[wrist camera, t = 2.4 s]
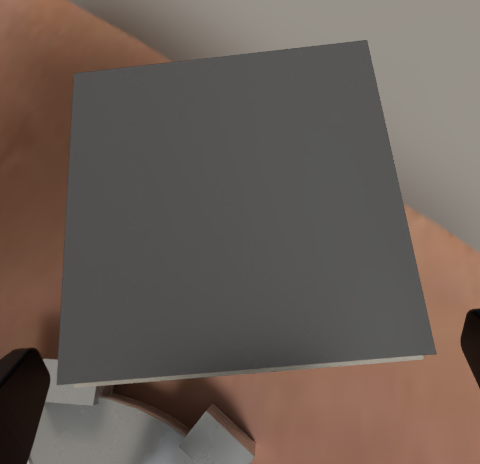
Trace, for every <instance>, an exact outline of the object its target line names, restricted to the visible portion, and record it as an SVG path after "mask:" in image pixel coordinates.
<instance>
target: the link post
mask: <svg viewBox="0 0 480 464" xmlns="http://www.w3.org/2000/svg"><path fill="white" fill-rule="evenodd" d="M431 354H436V350H435V345H434V341H433V336H432V332H431V327H430V323H429V318H428V314H427V309H426V305H425V300H424V296H423V291H422V287H421V282H420V278H419V273H418V269H417V264H416V259H415V255H414V250H413V246H412V241H411V237H410V232H409V228H408V223H407V219H406V214H405V210H404V205H403V201H402V196H401V192H400V187H399V183H398V178H397V173H396V169H395V164H394V160H393V155H392V151H391V147H390V142H389V138H388V133H387V128H386V124H385V120H384V115H383V111H382V106H381V101H380V97H379V92H378V88H377V83H376V78H375V74H374V69H373V66H372V60H371V56H370V51H369V47H368V42H367V40H363V41H355V42H346V43H337V44H328V45H320V46H311V47H302V48H293V49H284V50H276V51H267V52H258V53H249V54H240V55H232V56H224V57H214V58H205V59H196V60H188V61H179V62H170V63H161V64H152V65H144V66H135V67H126V68H117V69H108V70H100V71H91V72H82V73H74V81H73V99H72V117H71V135H70V152H69V170H68V188H67V206H66V224H65V242H64V260H63V278H62V296H61V313H60V331H59V349H58V367H57V385H66V384H74V388H80V387H92V386H104V385H116V384H129V383H141V382H153V381H165V380H178V379H190V378H202V377H214V376H226V375H239V374H251V373H263V372H275V371H288V370H300V369H312V368H324V367H336V366H349V365H361V364H373V363H385V362H397V361H410V360H422V359H424V357H423V355H431Z"/></svg>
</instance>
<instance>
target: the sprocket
mask: <svg viewBox="0 0 480 464" xmlns="http://www.w3.org/2000/svg"><path fill="white" fill-rule="evenodd" d="M43 361H44V363H45V365H46V367H47V369H48V371H49V373H50V387H49V390H48V394H47V397H46V401H45V405H44V408H43V412H42V415H41V419H40V422H39V426H38V429H37V433H36V437H35V440H34V444H33V447H32V450H31V453H30V457H29V460H28V462H27V464H249V463H250V462H251V461H252V459H253V458H254V456H255V445H256V443H255V442H254V441H253V440H252V439H251V438H250V437H249V436H248V435H247V434H246V433H245V432H243V431H242V430H241V429H240V428H239V427H238V426H237V425H236V424H235V423H234V422H233V421H232V420H231V419H230V418H228V417H227V416H226V415H225V414H224V413H223V412H222V411H221V410H220V409H219V408H218V407H217V406H216V405H215V404H213V403H212V404H211V406H210V407H209V408H208V409H207V410H206V411H205V413H204V414H203V415H202V417H201V418H200V419H199V420H198V422H197V423H196V424H195V426H194V427H193V428H192V429H190V428H188V427H187V426H186V425H184V424H183V423H181V422H180V421H179V420H177V419H176V418H174V417H172V416H171V415H169V414H167V413H165V412H163V411H161V410H159V409H157V408H155V407H153V406H151V405H149V404H147V403H144V402H141V401H138V400H135V399H132V398H129V397H126V396H123V395H120V394H114V386H115V385H104V386H92V387H80V388H74V384H66V385H57V367H58V358H47V359H43Z"/></svg>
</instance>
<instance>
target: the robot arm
mask: <svg viewBox="0 0 480 464" xmlns="http://www.w3.org/2000/svg"><path fill="white" fill-rule="evenodd" d="M461 348H462V351H463V353H464V355H465V357H466V360H467V362H468V364H469V366H470V368H471V371H472V373H473V375H474V377H475V379H476V381H477V384H478V386H479V388H480V309H472V310H469V311H468V313H467V315H466V318H465V323H464V327H463V331H462V335H461ZM49 387H50V373H49V371H48V369H47V367H46V365H45V363H44V361H43V359H42V357H41V355H40V353H39V351H38V350H37V349H35V348H20V349H15V350H13V351H11V352H10V353H9V354H7V355H6V356H5V357H3V358H2V359H0V464H27V462H28V460H29V457H30V453H31V450H32V447H33V444H34V440H35V437H36V433H37V429H38V426H39V422H40V419H41V415H42V412H43V408H44V405H45V401H46V397H47V394H48V390H49Z"/></svg>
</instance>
